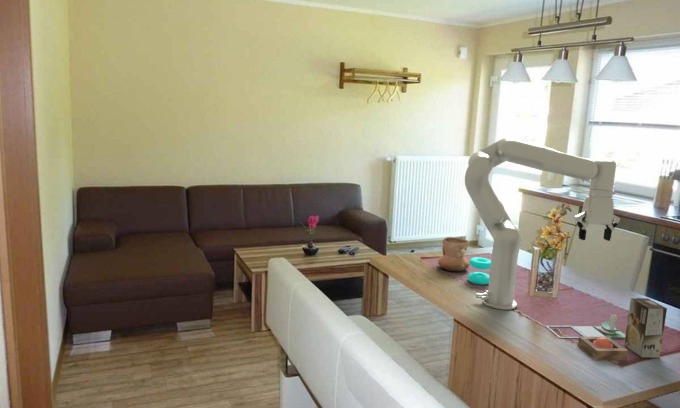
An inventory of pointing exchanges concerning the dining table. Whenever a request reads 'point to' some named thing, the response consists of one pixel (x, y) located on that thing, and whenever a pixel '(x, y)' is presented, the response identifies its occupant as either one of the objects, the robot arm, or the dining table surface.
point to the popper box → (602, 349)
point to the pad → (617, 334)
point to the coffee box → (645, 327)
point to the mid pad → (589, 331)
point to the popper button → (602, 343)
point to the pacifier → (610, 328)
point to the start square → (564, 326)
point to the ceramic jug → (454, 254)
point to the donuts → (479, 276)
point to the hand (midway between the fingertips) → (594, 239)
